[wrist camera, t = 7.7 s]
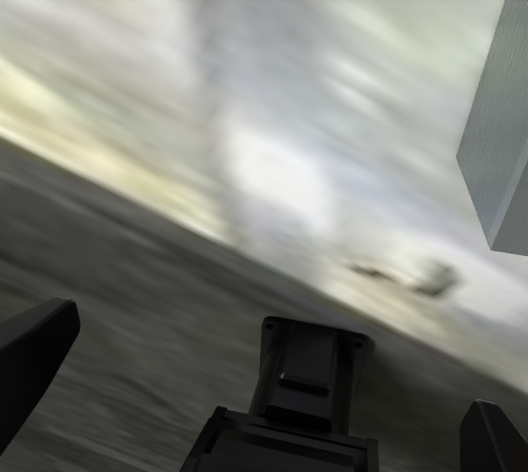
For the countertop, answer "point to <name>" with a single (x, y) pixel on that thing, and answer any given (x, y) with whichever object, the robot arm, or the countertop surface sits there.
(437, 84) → the countertop surface
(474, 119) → the box
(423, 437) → the countertop surface
